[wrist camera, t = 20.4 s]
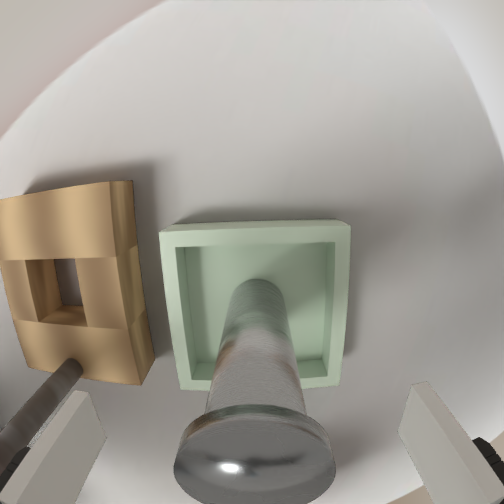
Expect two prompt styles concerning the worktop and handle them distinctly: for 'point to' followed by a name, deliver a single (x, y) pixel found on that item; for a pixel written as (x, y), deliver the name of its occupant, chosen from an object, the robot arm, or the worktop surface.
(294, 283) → the tray
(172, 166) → the worktop surface
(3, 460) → the socket block
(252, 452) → the pin
